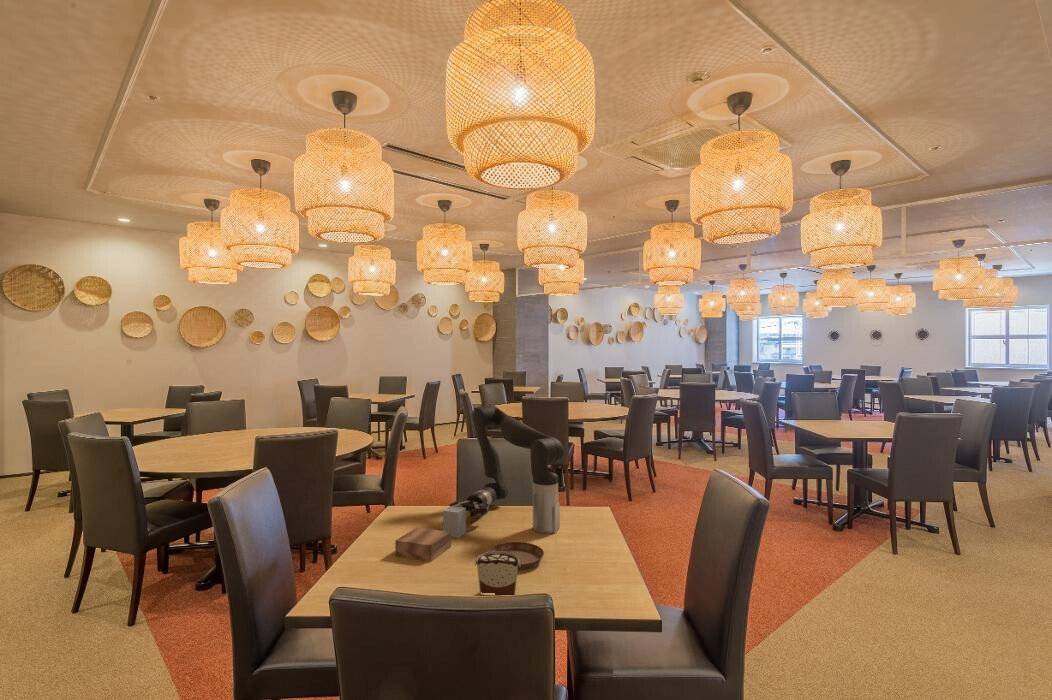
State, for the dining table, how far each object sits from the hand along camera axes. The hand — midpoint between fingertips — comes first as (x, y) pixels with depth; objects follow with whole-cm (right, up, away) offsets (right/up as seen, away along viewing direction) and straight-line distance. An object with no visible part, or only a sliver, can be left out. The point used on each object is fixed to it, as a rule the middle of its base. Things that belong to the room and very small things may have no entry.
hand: (460, 513), depth 196 cm
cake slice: (+17, -6, -49) cm, 52 cm away
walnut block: (-9, -6, -21) cm, 24 cm away
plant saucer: (+21, -7, -28) cm, 36 cm away
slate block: (-2, -6, -5) cm, 8 cm away
